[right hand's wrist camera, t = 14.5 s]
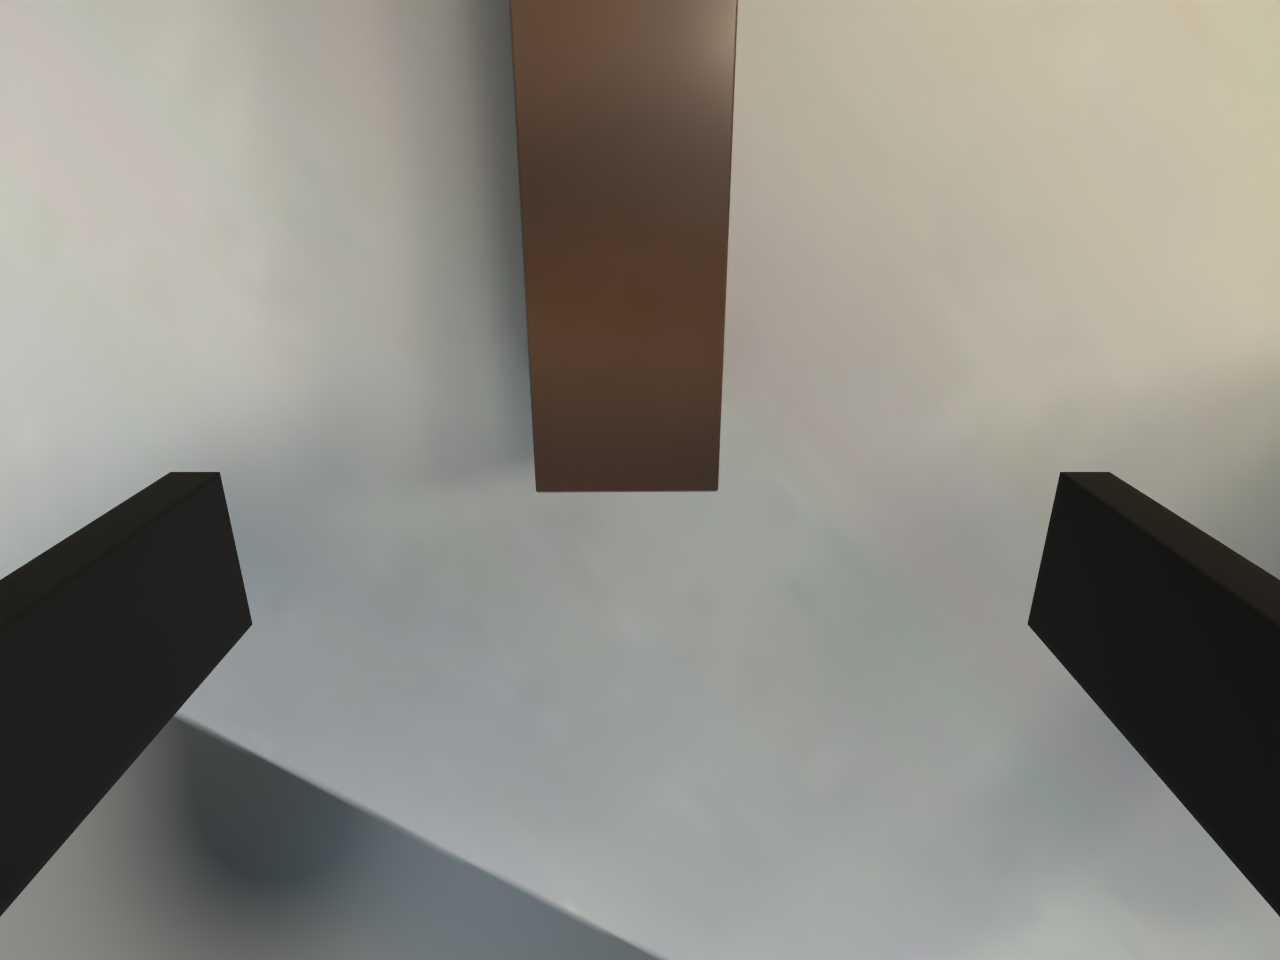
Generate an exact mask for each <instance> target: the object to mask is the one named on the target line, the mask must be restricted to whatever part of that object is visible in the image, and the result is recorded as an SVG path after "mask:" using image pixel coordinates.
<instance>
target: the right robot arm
mask: <svg viewBox="0 0 1280 960" xmlns="http://www.w3.org/2000/svg"><path fill="white" fill-rule="evenodd" d="M251 625H252V620H251V616H250V611H249V606H248V602H247V597H246V592H245V588H244V583H243V578H242V574H241V569H240V564H239V560H238V555H237V551H236V546H235V541H234V537H233V532H232V527H231V523H230V518H229V513H228V509H227V504H226V499H225V495H224V490H223V485H222V481H221V476H220V472H170V473H169V474H167V475H165V476H164V477H162V478H161V479H159V480H157V481H156V482H154V483H153V484H151V485H150V486H148V487H146V488H145V489H143V490H142V491H140V492H139V493H137V494H135V495H134V496H132V497H131V498H129V499H127V500H126V501H124V502H123V503H121V504H120V505H118V506H116V507H115V508H113V509H112V510H110V511H109V512H107V513H105V514H104V515H102V516H101V517H99V518H98V519H96V520H94V521H93V522H91V523H90V524H88V525H86V526H85V527H83V528H82V529H80V530H79V531H77V532H75V533H74V534H72V535H71V536H69V537H68V538H66V539H64V540H63V541H61V542H60V543H58V544H57V545H55V546H53V547H52V548H50V549H49V550H47V551H45V552H44V553H42V554H41V555H39V556H38V557H36V558H34V559H33V560H31V561H30V562H28V563H27V564H25V565H23V566H22V567H20V568H19V569H17V570H15V571H14V572H12V573H11V574H9V575H8V576H6V577H4V578H3V579H1V580H0V916H1V915H2V914H3V913H4V912H5V910H6V909H7V908H8V907H9V906H10V905H11V904H12V902H13V901H14V900H15V899H16V898H17V897H18V895H19V894H20V893H21V892H22V891H23V890H24V888H25V887H26V886H27V885H28V884H29V883H30V881H31V880H32V879H33V878H34V877H35V876H36V875H37V873H38V872H39V871H40V870H41V869H42V868H43V866H44V865H45V864H46V863H47V862H48V861H49V859H50V858H51V857H52V856H53V855H54V854H55V852H56V851H57V850H58V849H59V848H60V847H61V846H62V844H63V843H64V842H65V841H66V840H67V839H68V837H69V836H70V835H71V834H72V833H73V832H74V830H75V829H76V828H77V827H78V826H79V825H80V823H81V822H82V821H83V820H84V819H85V818H86V817H87V815H88V814H89V813H90V812H91V811H92V810H93V808H94V807H95V806H96V805H97V804H98V803H99V801H100V800H101V799H102V798H103V797H104V796H105V794H106V793H107V792H108V791H109V790H110V789H111V787H112V786H113V785H114V784H115V783H116V782H117V781H118V779H119V778H120V777H121V776H122V775H123V774H124V772H125V771H126V770H127V769H128V768H129V767H130V766H131V764H132V763H133V762H134V761H135V760H136V759H137V757H138V756H139V755H140V754H141V753H142V752H143V750H144V749H145V748H146V747H147V746H148V745H149V743H150V742H151V741H152V740H153V739H154V738H155V737H156V735H157V734H158V733H159V732H160V731H161V730H162V728H163V727H164V726H165V725H166V724H167V723H168V721H169V720H170V719H171V718H172V717H173V716H174V714H175V713H176V712H177V711H178V710H179V709H180V708H181V706H182V705H183V704H184V703H185V702H186V701H187V699H188V698H189V697H190V696H191V695H192V694H193V692H194V691H195V690H196V689H197V688H198V687H199V685H200V684H201V683H202V682H203V681H204V680H205V679H206V677H207V676H208V675H209V674H210V673H211V672H212V670H213V669H214V668H215V667H216V666H217V665H218V663H219V662H220V661H221V660H222V659H223V658H224V656H225V655H226V654H227V653H228V652H229V651H230V650H231V648H232V647H233V646H234V645H235V644H236V643H237V641H238V640H239V639H240V638H241V637H242V636H243V634H244V633H245V632H246V631H247V630H248V629H249V627H250V626H251ZM1028 625H1029V626H1030V627H1031V629H1032V630H1033V631H1034V632H1035V633H1036V634H1037V636H1038V637H1039V638H1040V639H1041V640H1042V641H1043V643H1044V644H1045V645H1046V646H1047V647H1048V648H1049V650H1050V651H1051V652H1052V653H1053V654H1054V655H1055V656H1056V658H1057V659H1058V660H1059V661H1060V662H1061V663H1062V665H1063V666H1064V667H1065V668H1066V669H1067V670H1068V672H1069V673H1070V674H1071V675H1072V676H1073V677H1074V679H1075V680H1076V681H1077V682H1078V683H1079V684H1080V685H1081V687H1082V688H1083V689H1084V690H1085V691H1086V692H1087V694H1088V695H1089V696H1090V697H1091V698H1092V699H1093V701H1094V702H1095V703H1096V704H1097V705H1098V706H1099V708H1100V709H1101V710H1102V711H1103V712H1104V713H1105V714H1106V716H1107V717H1108V718H1109V719H1110V720H1111V721H1112V723H1113V724H1114V725H1115V726H1116V727H1117V728H1118V730H1119V731H1120V732H1121V733H1122V734H1123V735H1124V737H1125V738H1126V739H1127V740H1128V741H1129V742H1130V743H1131V745H1132V746H1133V747H1134V748H1135V749H1136V750H1137V752H1138V753H1139V754H1140V755H1141V756H1142V757H1143V759H1144V760H1145V761H1146V762H1147V763H1148V764H1149V766H1150V767H1151V768H1152V769H1153V770H1154V771H1155V772H1156V774H1157V775H1158V776H1159V777H1160V778H1161V779H1162V781H1163V782H1164V783H1165V784H1166V785H1167V786H1168V788H1169V789H1170V790H1171V791H1172V792H1173V793H1174V794H1175V796H1176V797H1177V798H1178V799H1179V800H1180V801H1181V803H1182V804H1183V805H1184V806H1185V807H1186V808H1187V810H1188V811H1189V812H1190V813H1191V814H1192V815H1193V817H1194V818H1195V819H1196V820H1197V821H1198V822H1199V823H1200V825H1201V826H1202V827H1203V828H1204V829H1205V830H1206V832H1207V833H1208V834H1209V835H1210V836H1211V837H1212V839H1213V840H1214V841H1215V842H1216V843H1217V844H1218V846H1219V847H1220V848H1221V849H1222V850H1223V851H1224V852H1225V854H1226V855H1227V856H1228V857H1229V858H1230V859H1231V861H1232V862H1233V863H1234V864H1235V865H1236V866H1237V868H1238V869H1239V870H1240V871H1241V872H1242V873H1243V875H1244V876H1245V877H1246V878H1247V879H1248V880H1249V881H1250V883H1251V884H1252V885H1253V886H1254V887H1255V888H1256V890H1257V891H1258V892H1259V893H1260V894H1261V895H1262V897H1263V898H1264V899H1265V900H1266V901H1267V902H1268V904H1269V905H1270V906H1271V907H1272V908H1273V909H1274V910H1275V912H1276V913H1277V914H1278V915H1279V916H1280V580H1279V579H1277V578H1276V577H1274V576H1272V575H1271V574H1269V573H1268V572H1266V571H1265V570H1263V569H1261V568H1260V567H1258V566H1257V565H1255V564H1253V563H1252V562H1250V561H1249V560H1247V559H1246V558H1244V557H1242V556H1241V555H1239V554H1238V553H1236V552H1235V551H1233V550H1231V549H1230V548H1228V547H1227V546H1225V545H1223V544H1222V543H1220V542H1219V541H1217V540H1216V539H1214V538H1212V537H1211V536H1209V535H1208V534H1206V533H1205V532H1203V531H1201V530H1200V529H1198V528H1197V527H1195V526H1194V525H1192V524H1190V523H1189V522H1187V521H1186V520H1184V519H1182V518H1181V517H1179V516H1178V515H1176V514H1175V513H1173V512H1171V511H1170V510H1168V509H1167V508H1165V507H1164V506H1162V505H1160V504H1159V503H1157V502H1156V501H1154V500H1153V499H1151V498H1149V497H1148V496H1146V495H1145V494H1143V493H1141V492H1140V491H1138V490H1137V489H1135V488H1134V487H1132V486H1130V485H1129V484H1127V483H1126V482H1124V481H1123V480H1121V479H1119V478H1118V477H1116V476H1115V475H1113V474H1111V473H1110V472H1060V476H1059V481H1058V485H1057V490H1056V495H1055V499H1054V504H1053V509H1052V513H1051V518H1050V523H1049V527H1048V532H1047V537H1046V541H1045V546H1044V551H1043V555H1042V560H1041V564H1040V569H1039V574H1038V578H1037V583H1036V588H1035V592H1034V597H1033V602H1032V606H1031V611H1030V616H1029V620H1028Z"/></svg>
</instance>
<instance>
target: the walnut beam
mask: <svg viewBox="0 0 1280 960" xmlns="http://www.w3.org/2000/svg"><path fill="white" fill-rule="evenodd" d="M737 10H738V0H509V11H510V29H511V47H512V65H513V84H514V102H515V120H516V138H517V156H518V174H519V192H520V210H521V228H522V246H523V264H524V282H525V301H526V319H527V337H528V355H529V373H530V391H531V409H532V427H533V445H534V463H535V481H536V491H537V492H691V491H717V490H718V476H719V451H720V427H721V402H722V378H723V353H724V329H725V304H726V280H727V255H728V231H729V206H730V182H731V157H732V133H733V108H734V84H735V59H736V35H737Z"/></svg>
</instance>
